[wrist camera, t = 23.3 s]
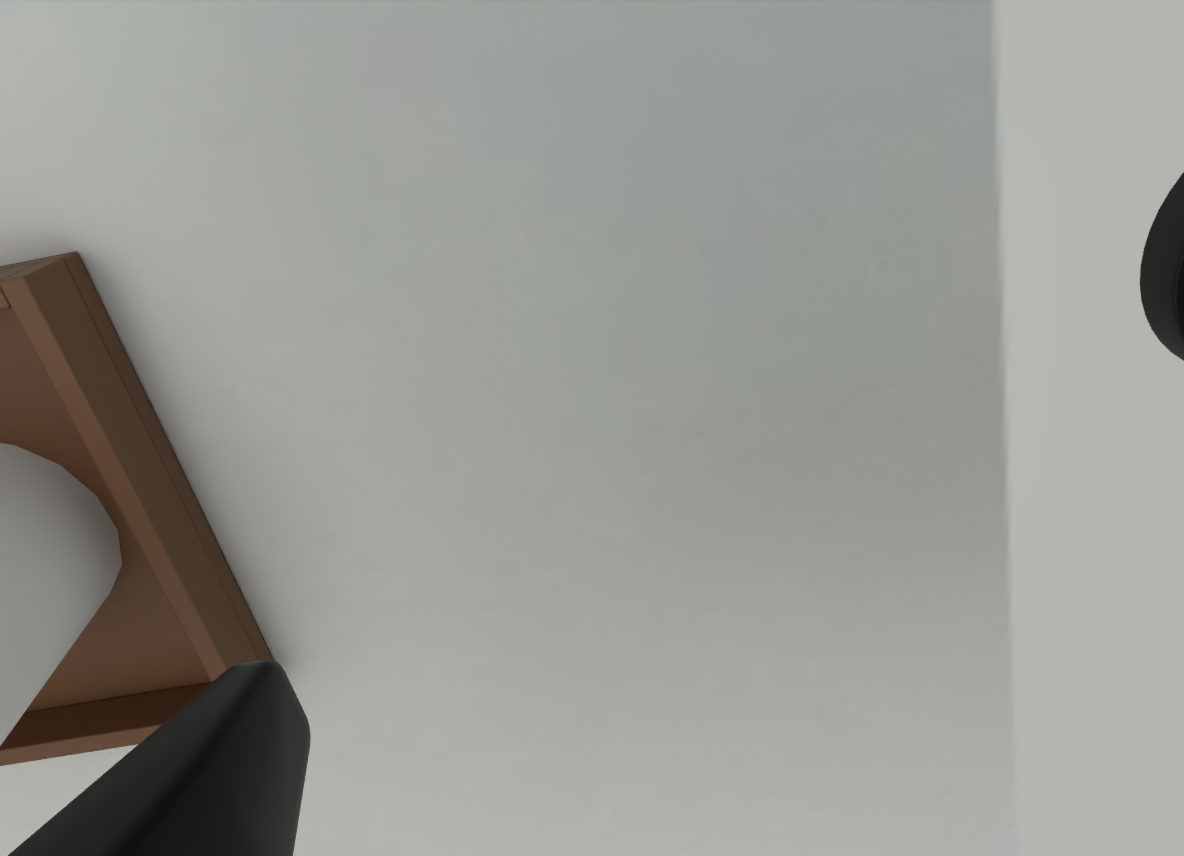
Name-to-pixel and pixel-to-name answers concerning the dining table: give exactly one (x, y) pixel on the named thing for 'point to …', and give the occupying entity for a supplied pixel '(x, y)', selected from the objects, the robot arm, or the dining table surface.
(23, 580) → the white paper cup
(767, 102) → the dining table surface
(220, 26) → the dining table surface
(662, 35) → the dining table surface
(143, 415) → the tray
